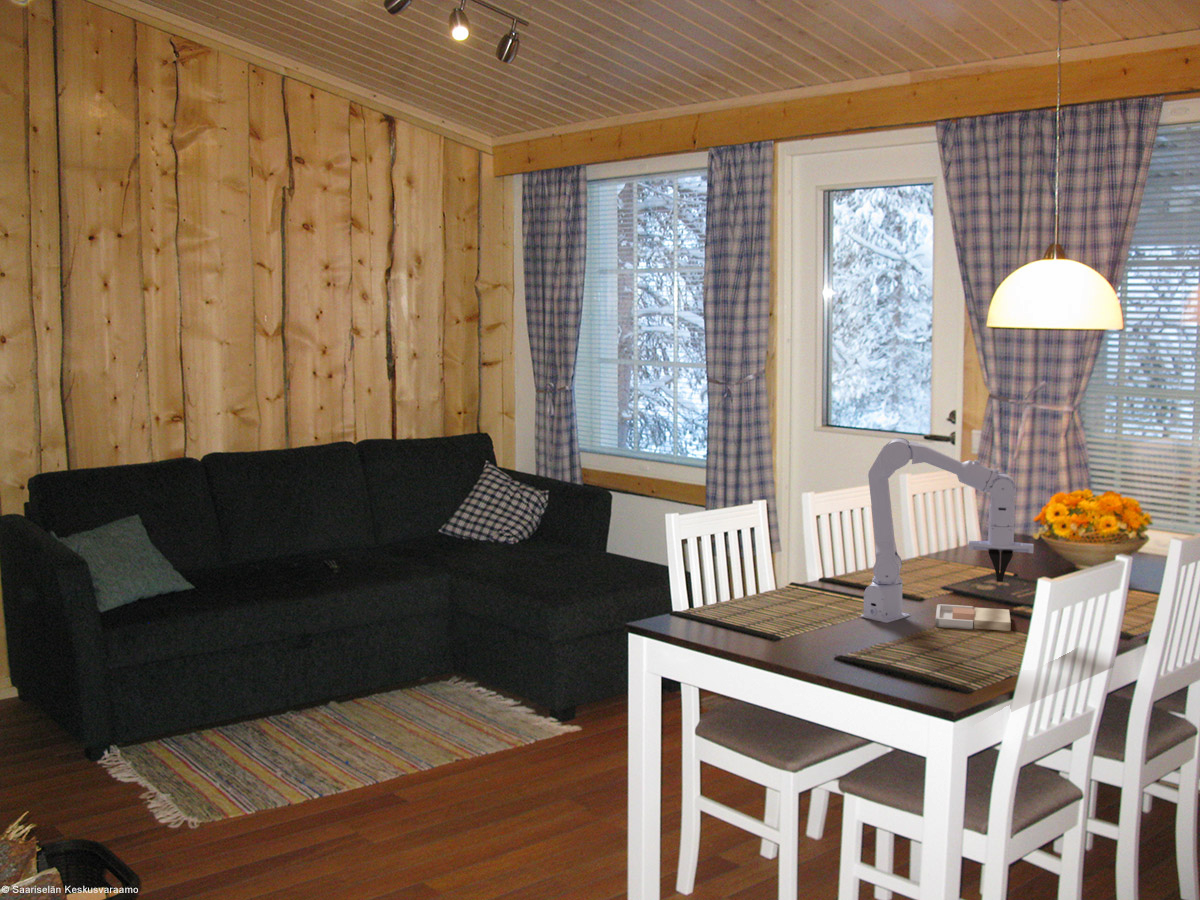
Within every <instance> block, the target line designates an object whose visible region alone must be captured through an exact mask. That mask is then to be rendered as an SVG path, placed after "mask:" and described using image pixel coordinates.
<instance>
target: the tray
mask: <svg viewBox="0 0 1200 900" xmlns="http://www.w3.org/2000/svg"><path fill="white" fill-rule="evenodd" d="M953 608H968V609H974V605H973V606H972V605H957V604H944V603H942V604H941V603H937V604H936V612H935V627H936V628H949V629H963V630H974V622H973V620H962V619H952V617H953Z"/></svg>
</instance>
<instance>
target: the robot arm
mask: <svg viewBox="0 0 1200 900" xmlns="http://www.w3.org/2000/svg"><path fill="white" fill-rule="evenodd" d="M910 460H911V461H912V462H911V465H917V464H923V463H925V464H928V465H931V466H934V467H936V468H938V469H940V470H944V471H947V472H948V473H951V474H954V475H956V477H957V479H958V481H959V483H962V484H964V485H967V486H969V487H970V488H973V489H975V490H978V491H980V492H983V493H989V494H990V504H989V505H988V531H987V532H988V539H987V540H968V551H988V556H989V558H990V560H991V563H992V566H993V567H994V571H995V576H996V583H998V582H999V583H1003V582H1004V579H1005V578H1004V577H1005V574H1006V571H1007V568H1008V566H1009V563H1010V562H1011V561H1012V558H1013V555H1014V554H1013V552H1015V553H1028V554H1034V552H1035V551H1034V545H1035V544H1034V543H1026V542H1018V541H1017V542H1016V541H1015V512H1016V510H1015V509H1016V508H1015V507H1016V506H1015V502H1016V501H1015V495H1016V493H1017V488H1016V482H1015V480H1014V478H1013V477H1012V476H1010V475H1009V474H1007V473H1006V472H1000V469H998V468H995V469H992V468H989V467H988V466H985V465H984V464H983V465H982V464H981V461H980V460H977V459H975V460H974V461H973V460H972V459H968V460H965V461H960V460H958V459H956V458H953V457H951V456H948V455H946V454H945V453H943V452H940V451H938V450H936V449H934V448H931V447H929V446H927V445H926V444H922V443H919V442H916V441H913V440H910V441H909V440H908V439H906V438H903V437H895V438H893V439H891V440H889V442H888V443H886V444H885V445H884V446H883V447H882V448H881V450H880V452H879V453H878V454H877V456H876V459H875V460H874V461H873V463H872V466H871V467H870V469H869V470H868V475H867V477H868V486H869V494H870V504H871V505H870V506H871V512H872V523H873V532H874V534H873V535H874V541H875V542H874V543H875V563H874V566H873V568H872V572H873V576H872V581H871V583H870V585H868V586H866V588H865V590H864V592H863V614H860V617H861V618H864V619H868V620H873V621H878V622H881V623H885V624H888V623H891V622H895V621H898V620H901V619H904V618H907V617H910V614H909V613H905V612H903V581H904V579H903V578H902V577H900V573H901V569H902V566H903V560H902V559H901V556H900V555H899V553H898V550H897V545H896V541H895V530H894V523H893V522H894V521H893V520H894V518H893V511H892V501H891V491H890V482H889V478H891V476H893V474H894V473H895V472H896V471H897V470H899V469H901V468H903V467H905V466H906V465H907V464H909V462H910Z"/></svg>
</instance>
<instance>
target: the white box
mask: <svg viewBox="0 0 1200 900" xmlns="http://www.w3.org/2000/svg"><path fill="white" fill-rule="evenodd" d="M973 609H974V611H975V616H974V622H973V629H978V630H979V629H980V630H994V631H1006V632H1007V631H1008V632H1011V629H1012V628H1011V627H1012V626H1011V623H1012V621H1011V615H1010V614H1011V613H1010V609H1004V608H989V607H974V606H973Z"/></svg>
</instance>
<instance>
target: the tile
mask: <svg viewBox="0 0 1200 900" xmlns="http://www.w3.org/2000/svg"><path fill="white" fill-rule="evenodd" d="M974 616H975V611H974V608H973V609H968V608H953V617H952V619H962V620H973V623H974Z"/></svg>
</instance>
